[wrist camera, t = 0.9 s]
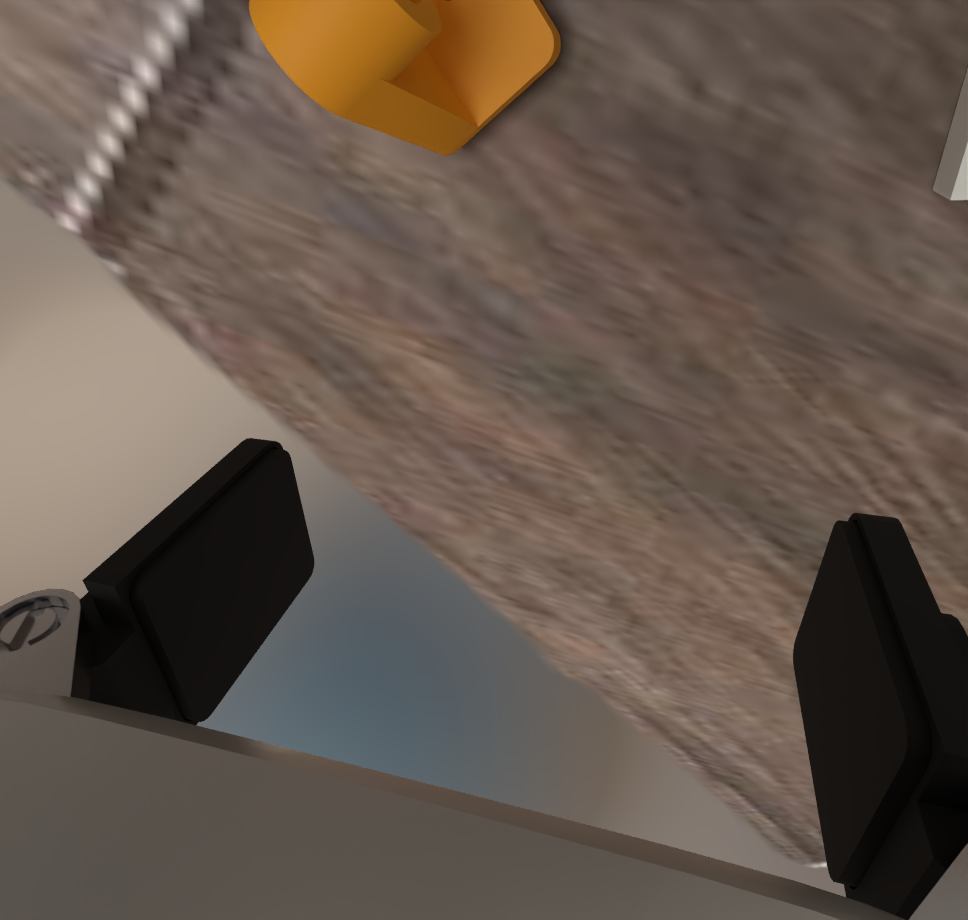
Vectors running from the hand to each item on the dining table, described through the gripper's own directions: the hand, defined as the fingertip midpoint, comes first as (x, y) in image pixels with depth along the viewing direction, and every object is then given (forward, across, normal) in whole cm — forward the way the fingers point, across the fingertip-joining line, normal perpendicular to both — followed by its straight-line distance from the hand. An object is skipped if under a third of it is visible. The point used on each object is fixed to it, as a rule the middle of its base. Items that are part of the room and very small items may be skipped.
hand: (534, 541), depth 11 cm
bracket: (+28, +10, -10) cm, 31 cm away
